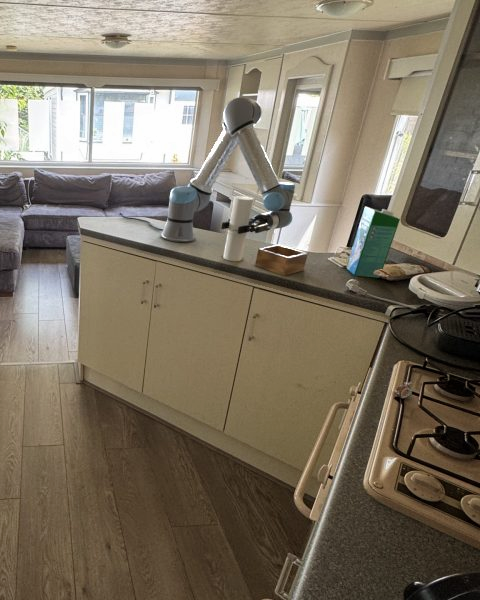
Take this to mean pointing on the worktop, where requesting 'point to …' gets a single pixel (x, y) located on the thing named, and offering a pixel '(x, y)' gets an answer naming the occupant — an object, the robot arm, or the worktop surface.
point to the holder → (281, 259)
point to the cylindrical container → (237, 219)
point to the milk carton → (372, 242)
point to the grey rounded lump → (403, 391)
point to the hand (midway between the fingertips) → (230, 228)
